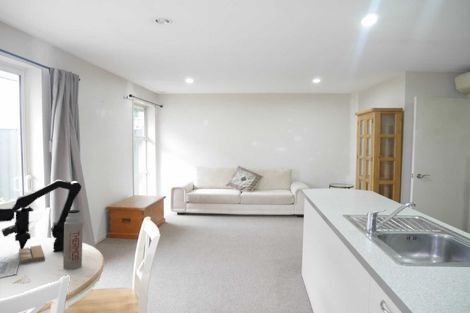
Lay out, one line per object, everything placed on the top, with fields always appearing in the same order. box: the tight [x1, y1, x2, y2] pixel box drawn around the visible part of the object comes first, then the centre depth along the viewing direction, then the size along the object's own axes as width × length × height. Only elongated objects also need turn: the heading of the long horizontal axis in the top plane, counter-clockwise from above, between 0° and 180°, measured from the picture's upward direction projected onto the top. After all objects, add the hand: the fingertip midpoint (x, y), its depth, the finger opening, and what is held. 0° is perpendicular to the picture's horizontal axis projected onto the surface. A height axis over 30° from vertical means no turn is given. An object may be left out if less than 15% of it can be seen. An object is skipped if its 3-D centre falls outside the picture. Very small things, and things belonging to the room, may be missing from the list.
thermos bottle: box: [62, 209, 84, 271], centre depth 143 cm, size 8×8×28 cm
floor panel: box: [18, 244, 46, 265], centre depth 154 cm, size 20×10×2 cm, turn 38°
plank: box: [18, 246, 32, 262], centre depth 152 cm, size 19×4×1 cm, turn 38°
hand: (21, 249), depth 155 cm, fingers closed
